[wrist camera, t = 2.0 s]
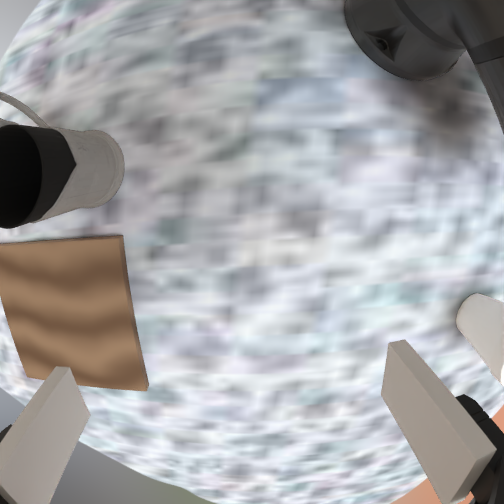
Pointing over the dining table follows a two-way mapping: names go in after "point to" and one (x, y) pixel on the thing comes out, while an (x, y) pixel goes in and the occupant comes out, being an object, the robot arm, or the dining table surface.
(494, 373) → the foam cup
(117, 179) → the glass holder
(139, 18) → the dining table surface
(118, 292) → the walnut board
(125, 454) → the dining table surface
